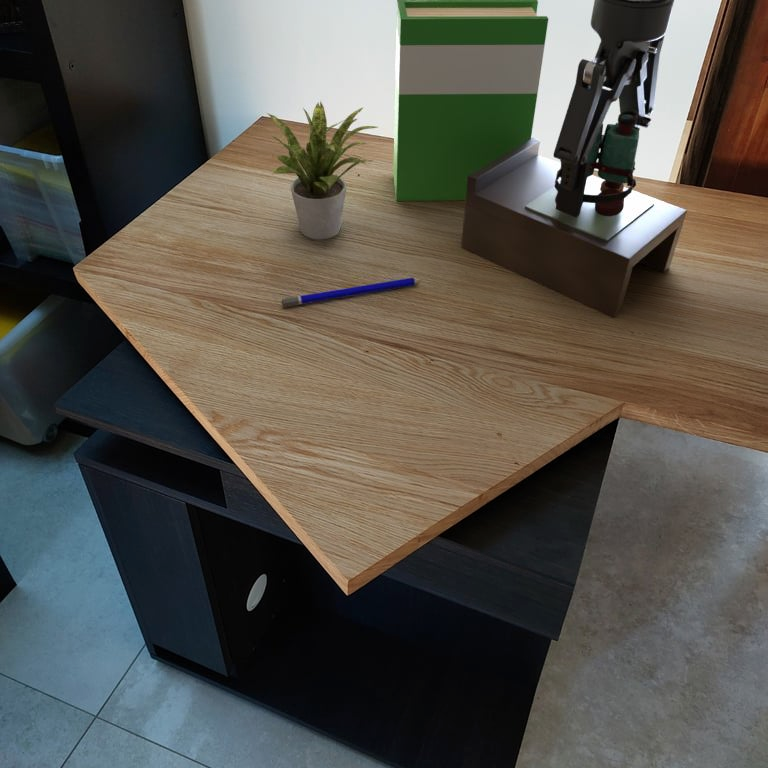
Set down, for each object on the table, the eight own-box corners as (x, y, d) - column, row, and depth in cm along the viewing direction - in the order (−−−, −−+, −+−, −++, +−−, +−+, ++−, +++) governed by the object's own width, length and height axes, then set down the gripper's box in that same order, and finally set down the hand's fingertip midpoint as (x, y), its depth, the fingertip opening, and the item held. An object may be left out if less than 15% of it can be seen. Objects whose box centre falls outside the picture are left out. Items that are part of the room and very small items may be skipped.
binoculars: (561, 141, 82) (570, 95, 89) (547, 223, 90) (556, 175, 96) (648, 151, 81) (651, 103, 87) (627, 234, 88) (630, 184, 95)
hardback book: (513, 174, 114) (536, -1, 98) (522, 199, 109) (548, 18, 93) (393, 175, 114) (397, -1, 97) (396, 201, 108) (400, 19, 92)
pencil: (282, 308, 89) (282, 301, 89) (281, 304, 90) (280, 297, 89) (422, 285, 93) (422, 278, 92) (420, 281, 94) (420, 274, 93)
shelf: (669, 267, 97) (692, 194, 90) (613, 318, 89) (633, 243, 82) (522, 206, 108) (532, 137, 101) (461, 247, 100) (467, 175, 93)
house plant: (399, 247, 99) (403, 124, 88) (298, 273, 95) (288, 147, 84) (354, 196, 109) (352, 80, 98) (260, 217, 104) (247, 98, 93)
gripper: (655, -42, 84) (612, 151, 99) (539, 8, 71) (509, 220, 86) (722, -28, 80) (666, 170, 95) (611, 27, 68) (568, 245, 83)
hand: (592, 194), depth 91 cm, fingers closed on binoculars, 10 cm apart
